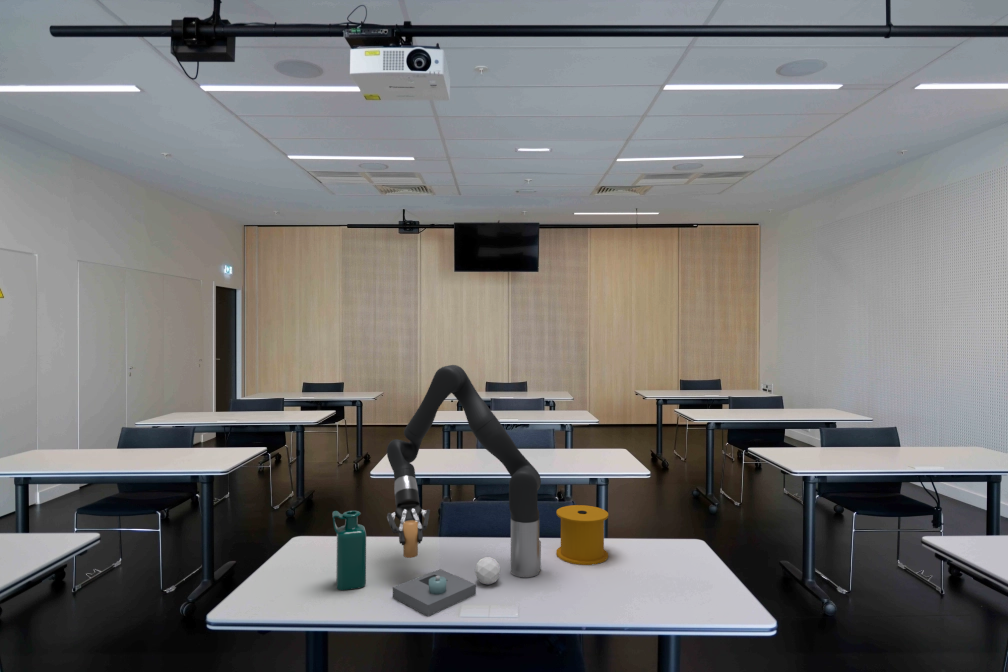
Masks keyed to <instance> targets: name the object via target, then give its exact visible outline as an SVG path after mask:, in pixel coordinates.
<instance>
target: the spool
mask: <svg viewBox="0 0 1008 672" xmlns="http://www.w3.org/2000/svg"><path fill="white" fill-rule="evenodd" d="M556 516H557V517H558V518H559V519H560V546H559V547H558V548H557V549H556V551H555V552H556V553H555V555H556V557H557V558H558V559H560V560H561V561H563V562H565V563H569V564H572V565H578V566H580V565H581V566H593V565H592V564H594V565H599V564H601V563H605V562H606V561H607V560H608V559H609V553H608V551H607V550H606V549H605V521H606V520H607V519H608V518H609V512H608V511H607V510H605V509H603V508H601V507H597V506H591V505H586V504H585V505H583V504H582V505H580V504H577V505H576V504H575V505H574V504H573V505H565V506H562V507H559V508H558V509H556ZM598 563H599V564H598Z"/></svg>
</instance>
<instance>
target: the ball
mask: <svg viewBox="0 0 1008 672" xmlns="http://www.w3.org/2000/svg"><path fill="white" fill-rule="evenodd" d="M474 570H475V571H474V573H475V576H476V579H477V581H479V583H480V584H483V585H487V586H489V585H491V584H494V583H496V582H497V581H498V579H499V578H500V573H501V568H500V563H499V562H498V561H497V559H495V558H493V557H489V556H485V557H483V558H481V559H480V560H478V562H477V563H476V564H475V569H474Z"/></svg>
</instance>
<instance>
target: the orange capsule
mask: <svg viewBox="0 0 1008 672" xmlns="http://www.w3.org/2000/svg"><path fill="white" fill-rule="evenodd" d="M403 531H404V540H405V544H404V545H402V546H403V549H402V550H403V555H402V556H403V557H404V558H407V559H408V558H409V559H411V558H415V557H418V556H419V544H418V522H417V521H415V520H409V521H405V522H404V523H403Z"/></svg>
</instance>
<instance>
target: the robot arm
mask: <svg viewBox="0 0 1008 672" xmlns="http://www.w3.org/2000/svg"><path fill="white" fill-rule="evenodd" d="M451 394H452V395H453V396H454V397H455V399H456V400H457V401H458V402H459V404H460V405H461V408H462V409H463V410H464V414H465V418H466V421H467V424H468V426H469V428H470V430H471V432H472V434H473V435H474V436H475V438H476V439H477V440H478V442H479V443H480V445H481V446H482V447H483V448H484V449H485V450H486V451H487V452H489V453H490V454H491V455H492V456H493V457H495V458H496V459H497V460H499V462H500V463H501V464H502V465H503V466H504V467H505V469H506V471H507V472H508V473H509V476H510V479H509V484H508V503H509V504H508V506H509V512H510V568H509V569H510V574H512V575H513V576H515V577H517V578H533V577H535V576H537V575H538V574H539V573H540V571H541V570H542V562H541V560H542V559H541V558H542V554H541V553H542V541H541V540H540V510H539V508H538V507H539V506H538V490H540V487H541V486H542V485H541V484H542V478H541V475H540V472H538V470H537V469H536V468H535V467H534V465H532V464H531V462H530V461H529V460H528V459H527V458H526V457H525V456H524V455H523V454H522V452H521V451H520V450H519V448H518V447H517V446H516V444H515V443H514V441H513V440H512V437H511V436H510V435H509V434H508V432H507V431H506V429H505V428H504V426H503V424H502V423H501V422H500V420H499V419H498V418H497V417H496V415H495V413H494V412H492V411H491V409H490V408H489V406H488V404H487V403H486V402H485V400H484V399H483V398H482V397H481V396H480V394H479V393H478V391H477V390H476V387H475V386H474V385H473V383H472V381H471V379H470V377H469V375H468V374H467V373H466V371H465V369H464V368H462V367H461V366H460V365H457V364H450V365H445V366H442V367H439V368H438V369H437V370H436V372H435V373H434V375H433V378H432V380H431V382H430V385H429V387H428V388H427V392H426V393H425V395H424V397H423V400H422V401H421V403H420V404H419V406H418V408H417V410H416V411H415V413H414V414H413V416H412V417H411V419H410V421H409V422H408V424H407V425H406V427H405V428H404V430H403V434H404V437H405V438H406V439H407V440H409V441H406V440H402V439H397V438H396V439H392V440H391V441H390V442H389V443H388V445H387V448H386V455H387V456H386V457H387V460H388V462H389V465H390V467H391V469H392V472H393V476H394V477H393V480H394V486H393V488H394V499H395V500H394V501H395V502H394V503H395V511H394V512H392V513H391V512H387V514H386V515H387V516H386V519H387V522H388V524H389V527H390V529H391V533H393V534H397V535H398V541H399V544H401V546H403V545H404V544H405V540H404V531H403V523H404V522H405V521H409V520H415V521H417V522H418V545H419V544H421V543H422V542H423V537H424V536H423V531H426V530H427V528H428V524H429V523H428V522H429V520H430V514H431V510H430V509H429V508H427V509H426V510H425V509H423V508H422V507H421V505H420V497H419V488H418V483H417V477H416V470H415V467H414V465H413V464H412V463H413V462H414V461H415V460H416V458H418V454H419V451H420V448H421V445H422V441H423V439H424V438H425V436H426V434H428V431H429V430H430V429H431V427H432V425H433V423H434V421H435V419H436V416H437V413H438V411H439V408H440V406H441V405H442V403H444V401H446V399H447V397H449V396H451ZM421 515H422V517H423V518H424V519H423V524H422V523H421V521H420V516H421ZM395 518H397V520H399V521H400V523H399V526H397V524H396V522H395Z"/></svg>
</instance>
